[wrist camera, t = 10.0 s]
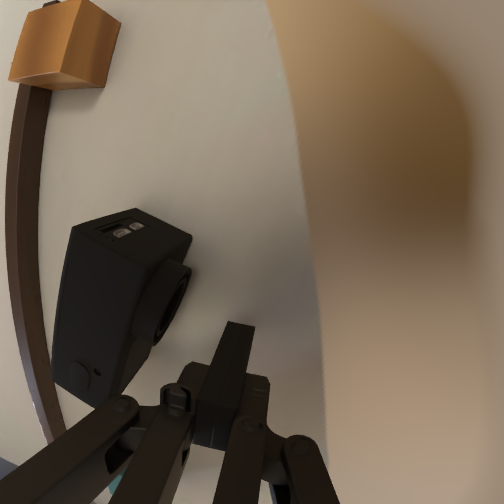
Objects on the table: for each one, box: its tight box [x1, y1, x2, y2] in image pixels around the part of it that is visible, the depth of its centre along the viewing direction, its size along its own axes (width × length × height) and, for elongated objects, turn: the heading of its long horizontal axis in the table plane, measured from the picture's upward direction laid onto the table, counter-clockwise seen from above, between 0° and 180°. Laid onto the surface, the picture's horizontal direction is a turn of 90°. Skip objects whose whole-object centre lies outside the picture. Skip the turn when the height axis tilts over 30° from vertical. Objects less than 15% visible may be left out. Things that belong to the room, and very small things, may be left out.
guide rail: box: [5, 0, 66, 445], centre depth 21 cm, size 2×42×2 cm, turn 170°
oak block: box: [8, 0, 121, 91], centre depth 15 cm, size 5×5×5 cm
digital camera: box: [51, 208, 192, 409], centre depth 18 cm, size 10×5×7 cm, turn 156°
